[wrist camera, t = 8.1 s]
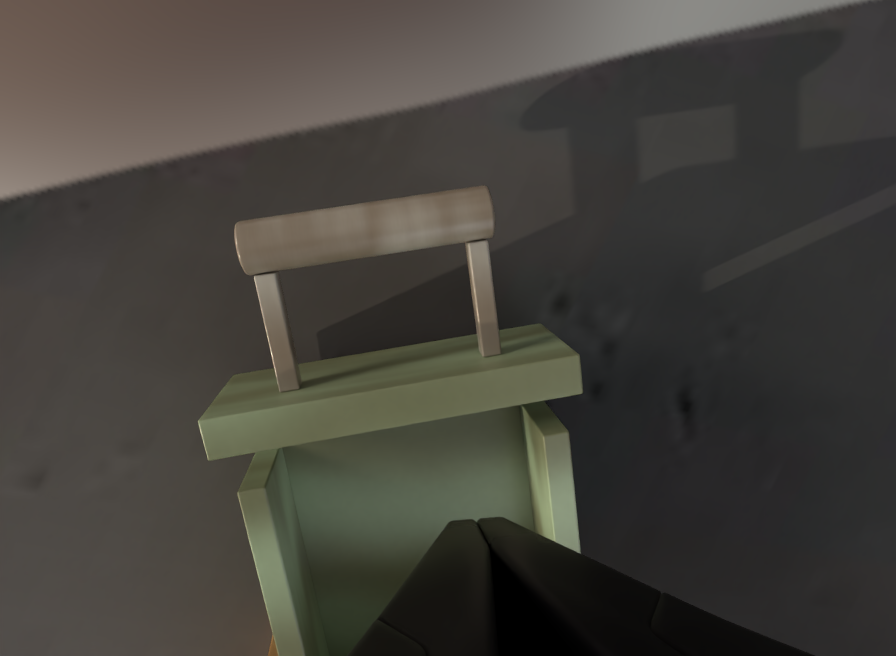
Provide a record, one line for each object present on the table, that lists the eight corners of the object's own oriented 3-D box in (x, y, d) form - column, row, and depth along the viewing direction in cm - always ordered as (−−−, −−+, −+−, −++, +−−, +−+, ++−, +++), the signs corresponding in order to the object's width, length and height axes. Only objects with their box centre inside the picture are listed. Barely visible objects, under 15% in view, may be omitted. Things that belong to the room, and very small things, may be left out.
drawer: (196, 225, 18) (148, 235, 15) (525, 177, 19) (564, 174, 15) (310, 696, 23) (297, 803, 19) (574, 640, 24) (614, 730, 20)
